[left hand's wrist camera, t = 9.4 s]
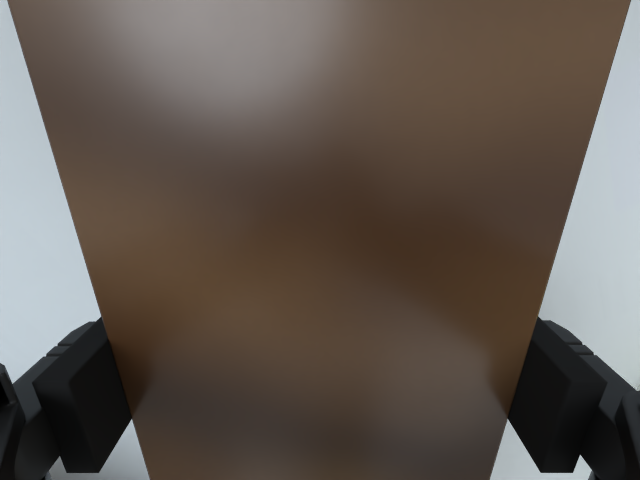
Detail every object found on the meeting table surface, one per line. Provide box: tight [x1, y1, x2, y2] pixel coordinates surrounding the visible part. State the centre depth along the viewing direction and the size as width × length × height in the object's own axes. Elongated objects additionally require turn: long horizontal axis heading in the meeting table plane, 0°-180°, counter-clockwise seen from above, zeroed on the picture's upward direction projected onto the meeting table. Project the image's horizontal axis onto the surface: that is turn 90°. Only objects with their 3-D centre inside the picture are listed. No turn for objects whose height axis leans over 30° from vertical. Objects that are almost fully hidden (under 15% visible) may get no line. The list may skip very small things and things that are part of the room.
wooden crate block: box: [7, 0, 631, 480], centre depth 11 cm, size 20×10×9 cm, turn 0°
